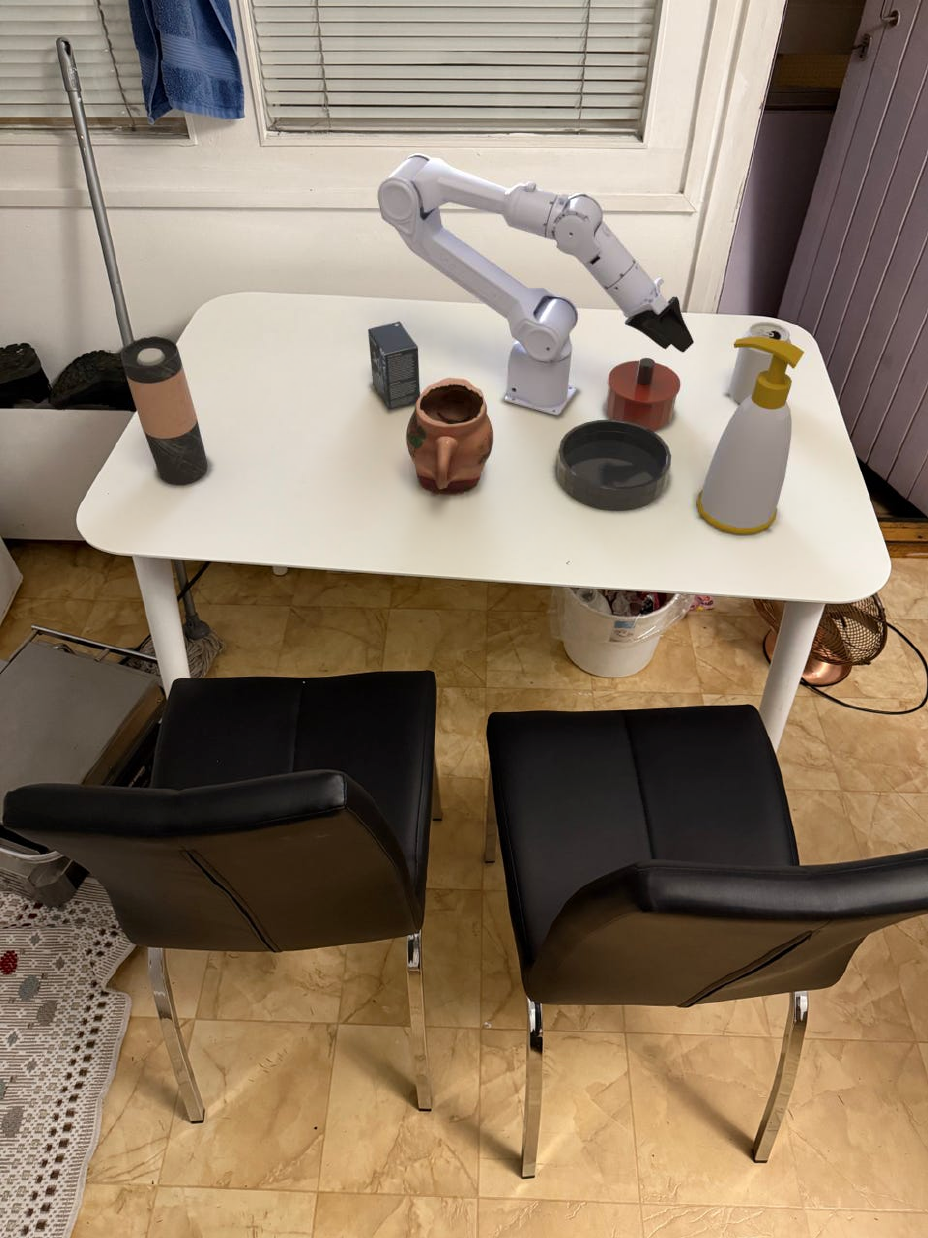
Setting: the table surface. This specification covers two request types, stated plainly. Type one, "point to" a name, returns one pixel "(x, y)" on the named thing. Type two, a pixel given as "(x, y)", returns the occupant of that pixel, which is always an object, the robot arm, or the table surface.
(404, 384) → the box
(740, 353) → the can
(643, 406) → the reddish brown bowl
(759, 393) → the soap bottle
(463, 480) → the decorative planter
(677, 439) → the table surface
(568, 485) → the pan
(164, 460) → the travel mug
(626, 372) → the lid
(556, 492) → the table surface
